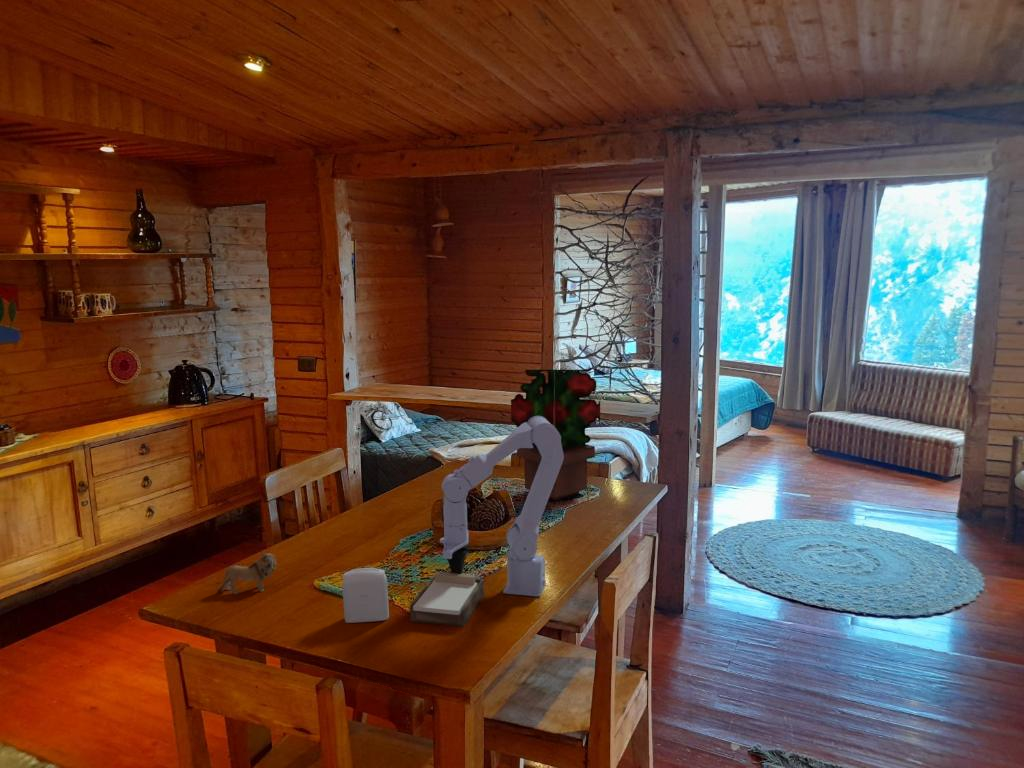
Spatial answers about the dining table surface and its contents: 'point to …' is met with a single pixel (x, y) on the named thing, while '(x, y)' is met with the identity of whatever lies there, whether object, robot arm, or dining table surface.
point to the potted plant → (559, 424)
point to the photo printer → (365, 595)
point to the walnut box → (449, 618)
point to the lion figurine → (250, 572)
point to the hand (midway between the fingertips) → (457, 575)
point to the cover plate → (447, 593)
